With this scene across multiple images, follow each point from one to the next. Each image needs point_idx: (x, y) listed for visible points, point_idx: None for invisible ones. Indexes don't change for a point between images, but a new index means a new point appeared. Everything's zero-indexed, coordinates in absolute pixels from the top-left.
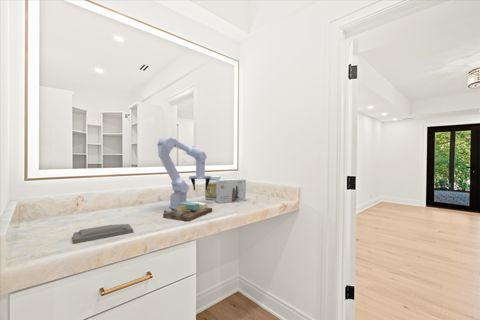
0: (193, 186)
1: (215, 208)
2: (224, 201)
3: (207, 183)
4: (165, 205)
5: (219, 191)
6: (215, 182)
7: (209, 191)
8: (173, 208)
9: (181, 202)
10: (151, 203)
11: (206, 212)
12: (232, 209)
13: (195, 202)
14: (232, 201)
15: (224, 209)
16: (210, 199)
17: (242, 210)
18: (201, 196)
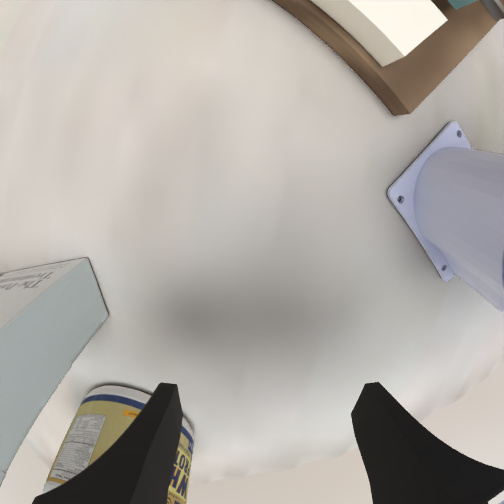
0: (417, 422)
1: (146, 49)
2: (39, 268)
3: (109, 471)
4: None
5: (10, 315)
6: None
7: None
8: (500, 6)
9: (484, 151)
10: (499, 353)
11: None
12: (44, 21)
13: (381, 5)
14: (3, 273)
15: (90, 15)
16: None
17: (15, 6)
18: (215, 470)
